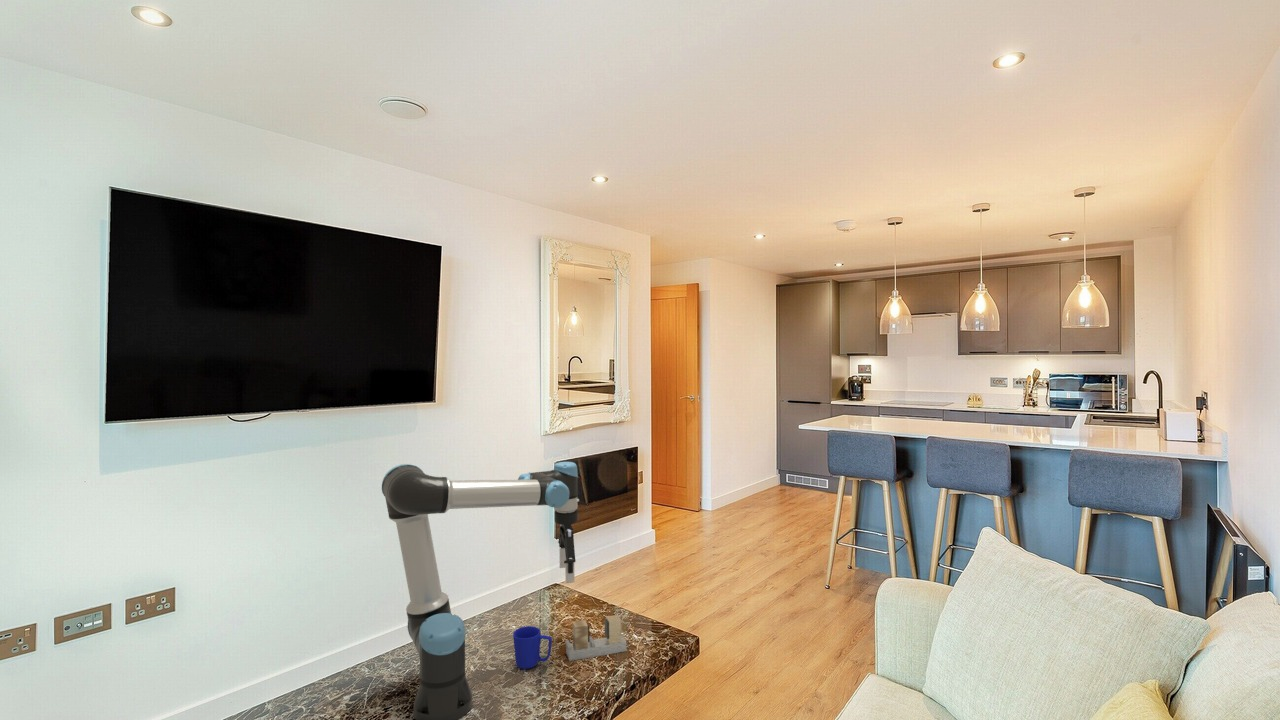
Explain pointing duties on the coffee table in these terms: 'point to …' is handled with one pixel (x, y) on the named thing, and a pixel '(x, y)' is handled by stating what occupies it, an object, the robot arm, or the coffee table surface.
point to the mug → (529, 646)
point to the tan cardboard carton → (580, 634)
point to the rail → (601, 642)
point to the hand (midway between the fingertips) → (566, 574)
